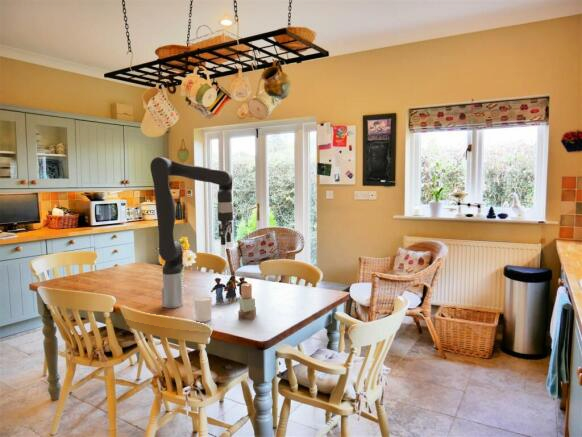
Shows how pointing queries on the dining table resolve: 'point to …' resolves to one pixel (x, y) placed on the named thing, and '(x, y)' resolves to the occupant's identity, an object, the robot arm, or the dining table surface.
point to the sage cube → (247, 304)
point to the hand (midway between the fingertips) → (226, 243)
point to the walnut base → (247, 314)
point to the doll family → (227, 289)
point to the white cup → (203, 308)
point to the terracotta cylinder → (246, 291)
